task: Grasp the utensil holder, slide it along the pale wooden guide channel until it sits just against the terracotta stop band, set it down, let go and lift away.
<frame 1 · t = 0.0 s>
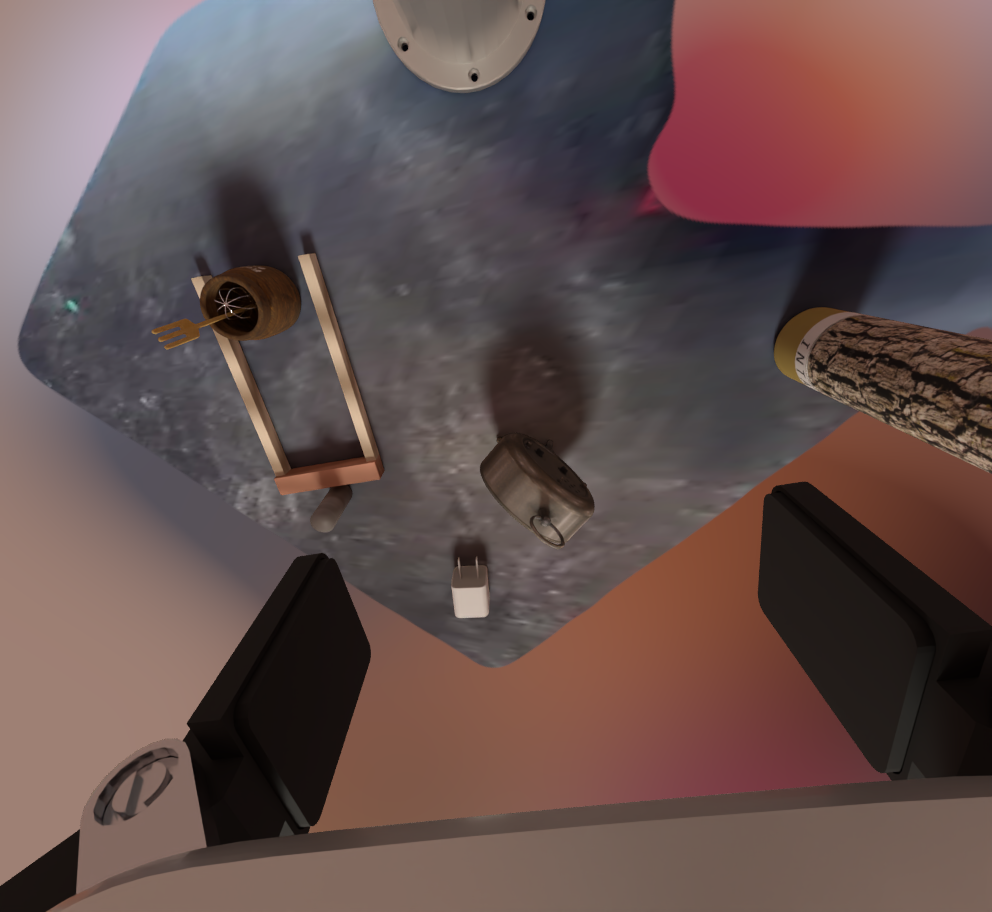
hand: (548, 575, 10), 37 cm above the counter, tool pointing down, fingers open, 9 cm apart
utensil holder: (271, 299, 43), on the counter
guide channel: (300, 382, 46), on the counter
usb wall charger: (471, 570, 56), on the counter
paper tube: (805, 342, 44), on the counter
alarm clock: (536, 453, 50), on the counter
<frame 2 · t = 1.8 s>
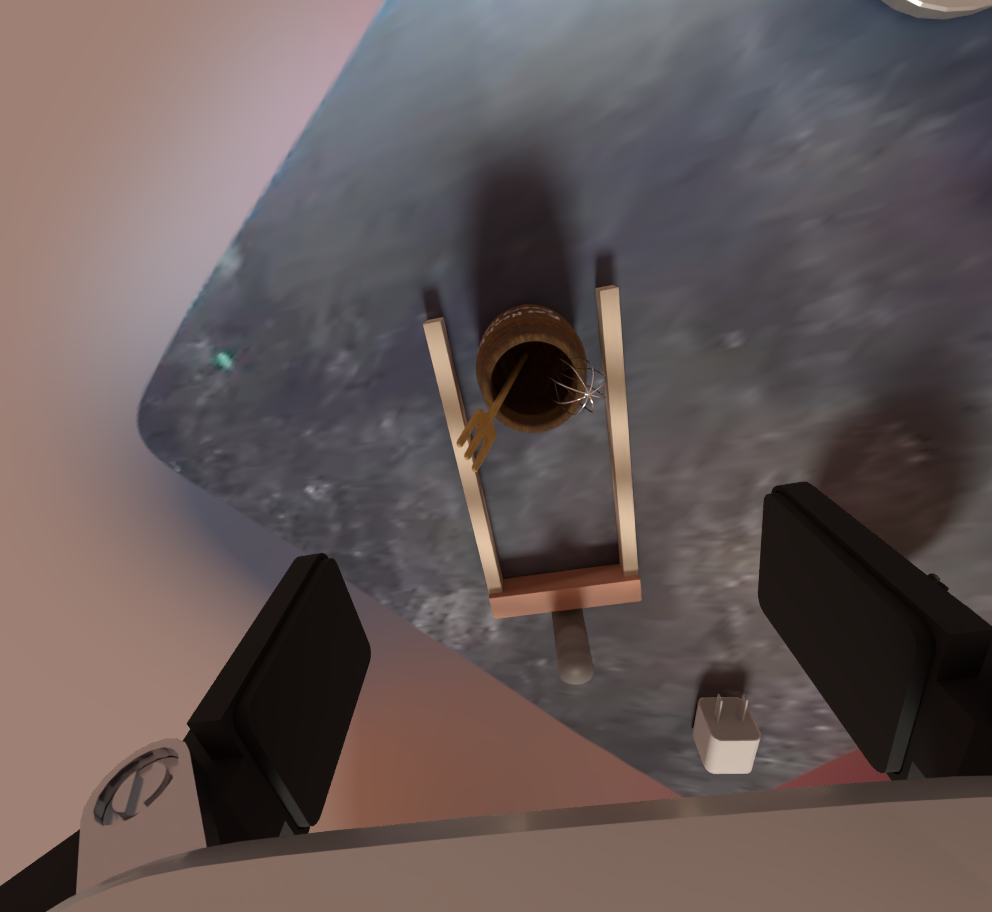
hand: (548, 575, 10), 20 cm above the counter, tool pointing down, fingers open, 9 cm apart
utensil holder: (525, 352, 29), on the counter
guide channel: (544, 467, 32), on the counter
usb wall charger: (716, 701, 42), on the counter
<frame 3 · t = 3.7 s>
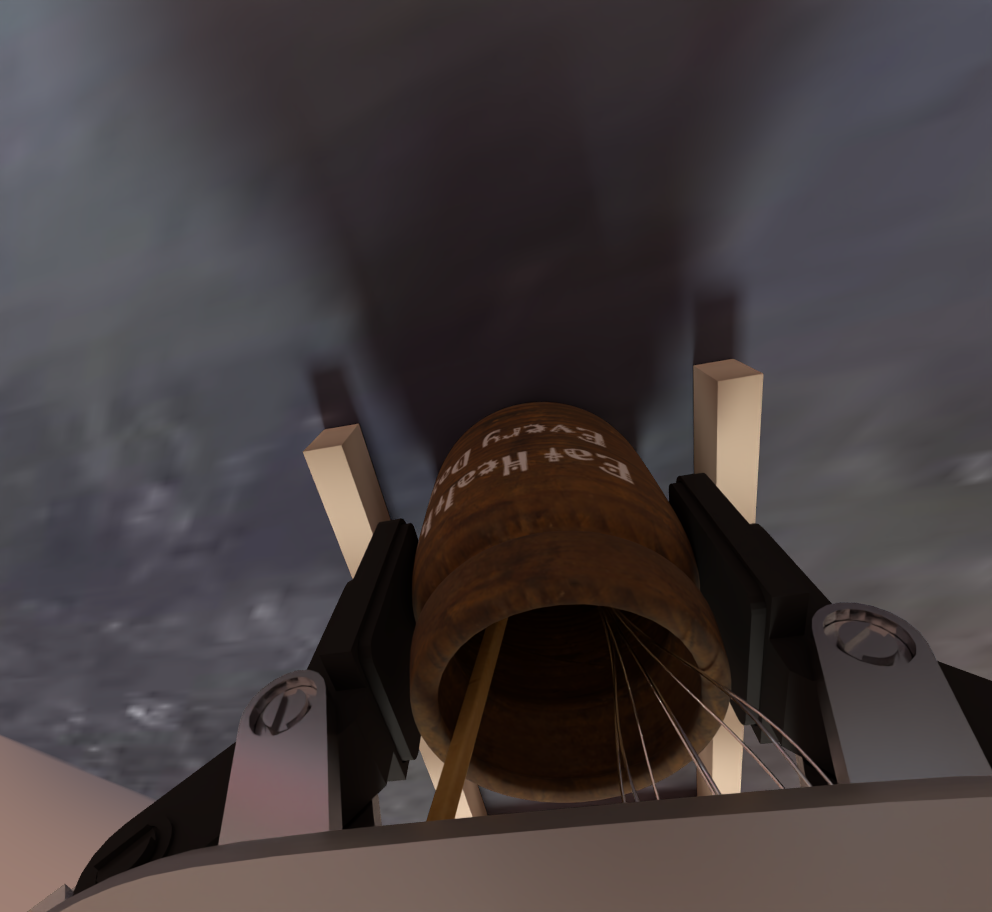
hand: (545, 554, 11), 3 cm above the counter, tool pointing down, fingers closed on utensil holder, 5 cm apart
utensil holder: (533, 489, 14), on the counter, touching gripper
guide channel: (569, 682, 17), on the counter
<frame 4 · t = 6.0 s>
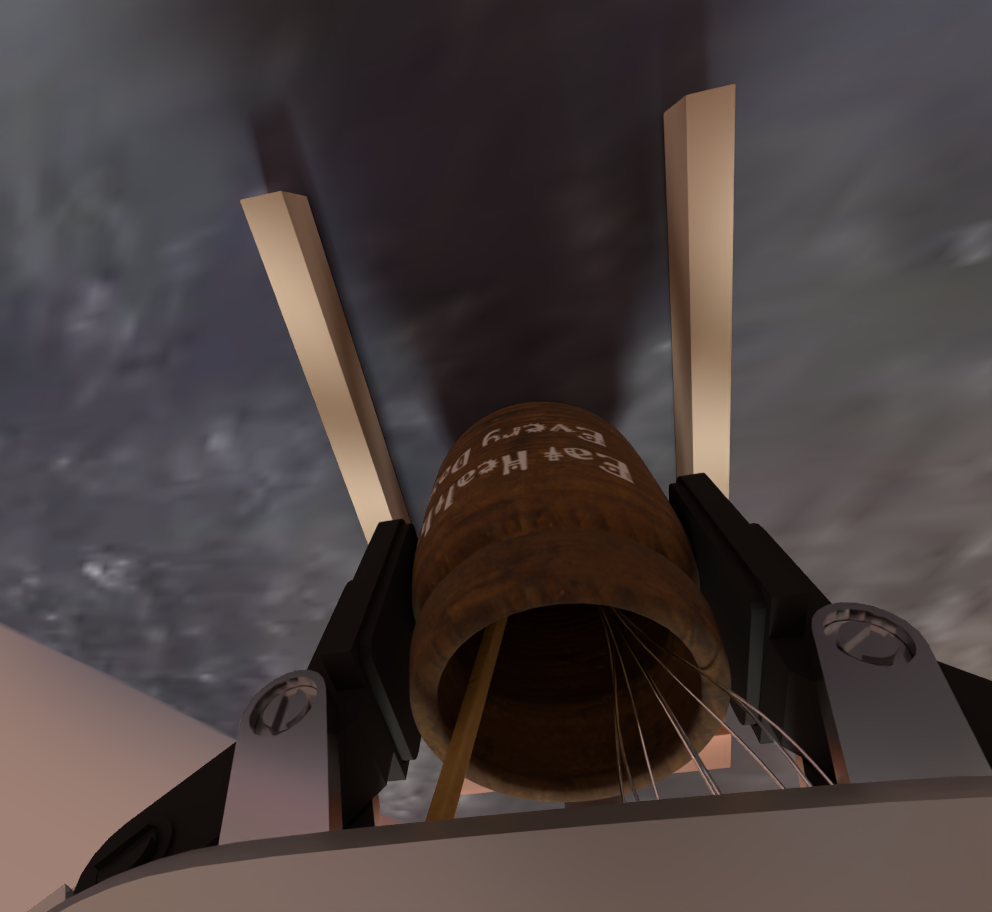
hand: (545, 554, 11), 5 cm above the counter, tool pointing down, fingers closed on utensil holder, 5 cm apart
utensil holder: (533, 489, 14), point 1 cm above the counter, touching gripper
guide channel: (544, 526, 16), on the counter
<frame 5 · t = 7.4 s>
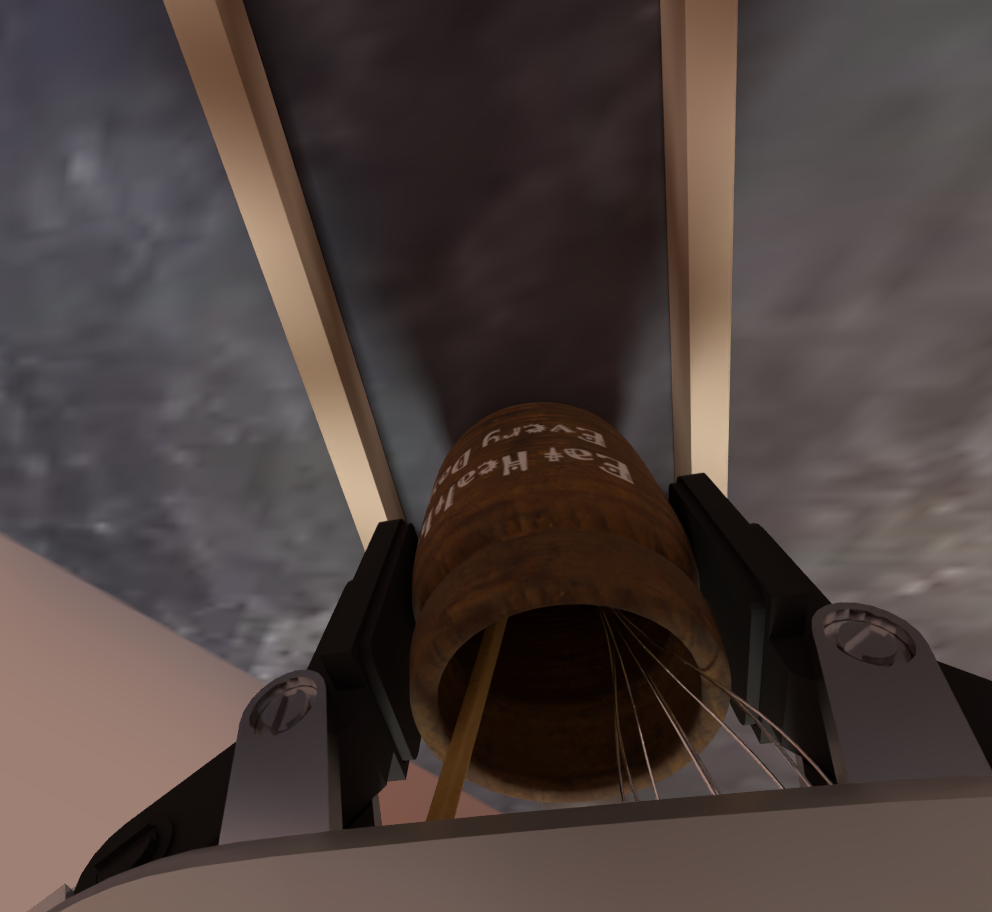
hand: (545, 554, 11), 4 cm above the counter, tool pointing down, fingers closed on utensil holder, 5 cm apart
utensil holder: (533, 489, 14), point 1 cm above the counter, touching gripper
guide channel: (502, 300, 13), on the counter
when the fingers open (3 cm above the counter, at t = 8.2 s): utensil holder stays where it is, on the counter.
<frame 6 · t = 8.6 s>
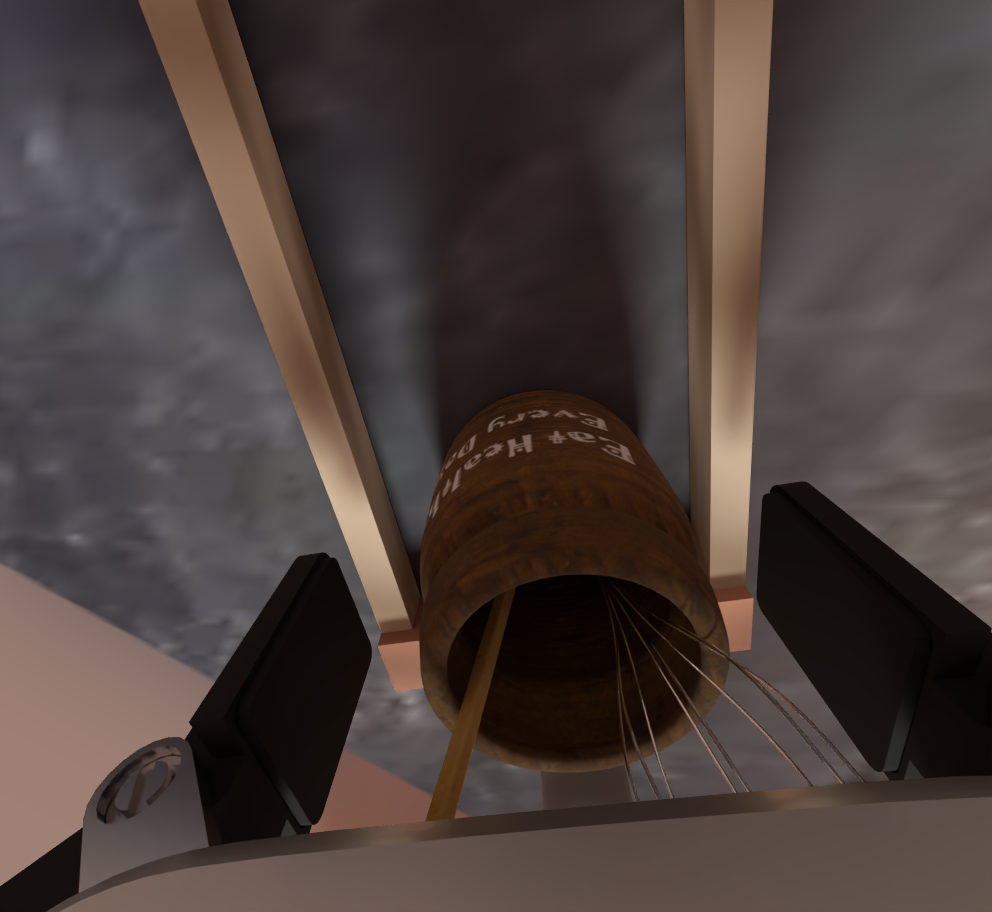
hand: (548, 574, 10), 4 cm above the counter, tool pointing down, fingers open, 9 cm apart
utensil holder: (536, 477, 14), on the counter
guide channel: (504, 296, 12), on the counter
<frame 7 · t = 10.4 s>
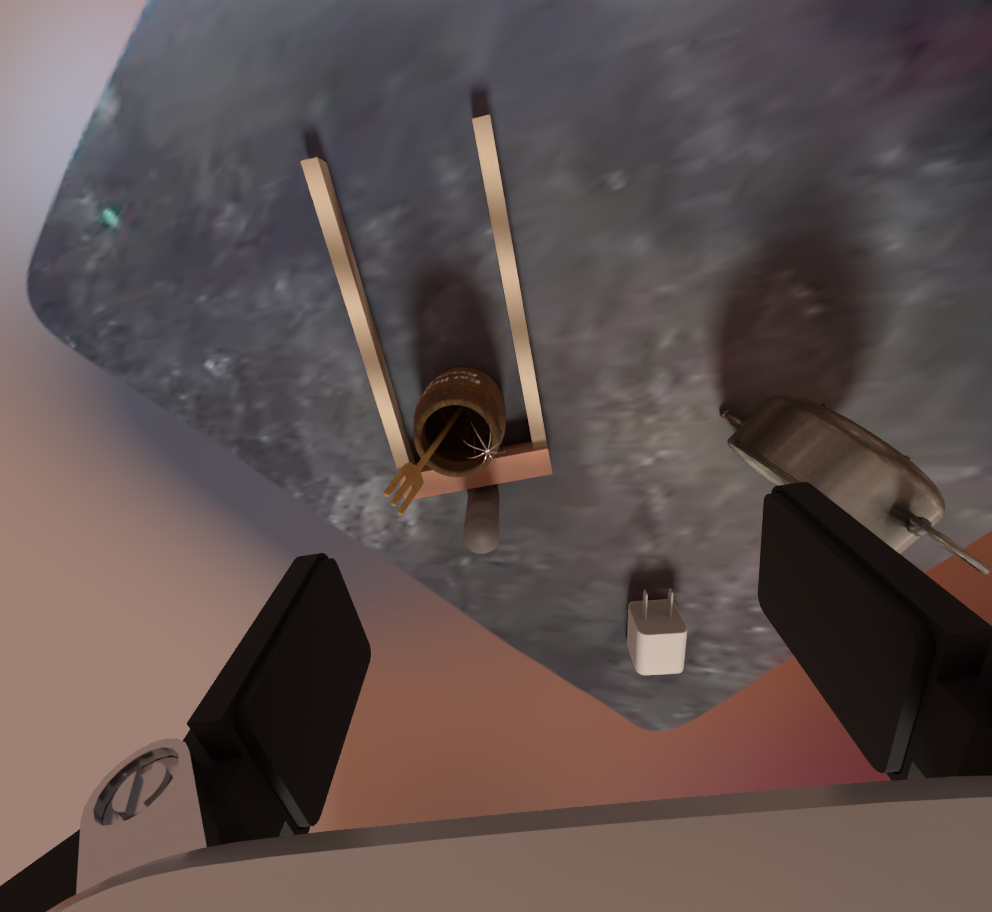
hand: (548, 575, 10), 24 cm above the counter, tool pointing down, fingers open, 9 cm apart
utensil holder: (462, 405, 34), on the counter
guide channel: (444, 332, 31), on the counter
usb wall charger: (648, 606, 41), on the counter
alarm clock: (770, 433, 35), on the counter
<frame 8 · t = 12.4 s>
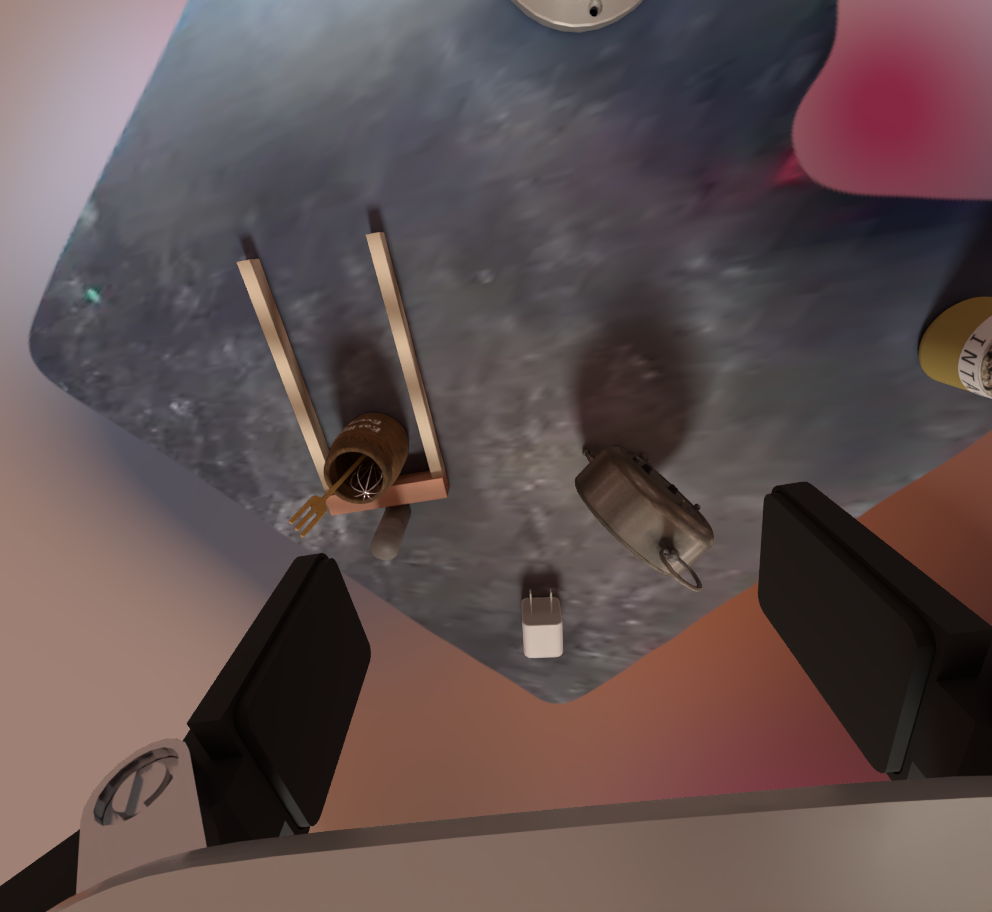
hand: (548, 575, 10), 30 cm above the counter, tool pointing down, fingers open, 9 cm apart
utensil holder: (377, 440, 42), on the counter
guide channel: (358, 385, 40), on the counter
usb wall charger: (540, 602, 50), on the counter
paper tube: (955, 339, 38), on the counter
alarm clock: (625, 467, 43), on the counter
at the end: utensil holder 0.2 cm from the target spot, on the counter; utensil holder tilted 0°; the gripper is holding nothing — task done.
